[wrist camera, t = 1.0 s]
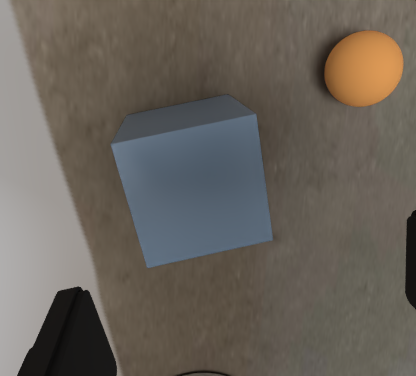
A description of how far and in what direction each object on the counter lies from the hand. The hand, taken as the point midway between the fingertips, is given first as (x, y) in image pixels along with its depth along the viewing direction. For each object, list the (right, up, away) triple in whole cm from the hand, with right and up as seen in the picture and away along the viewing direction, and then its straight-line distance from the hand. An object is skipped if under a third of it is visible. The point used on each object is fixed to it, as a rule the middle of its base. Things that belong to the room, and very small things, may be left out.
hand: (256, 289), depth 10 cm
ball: (+9, +11, +15) cm, 21 cm away
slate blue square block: (-3, +6, +18) cm, 19 cm away
